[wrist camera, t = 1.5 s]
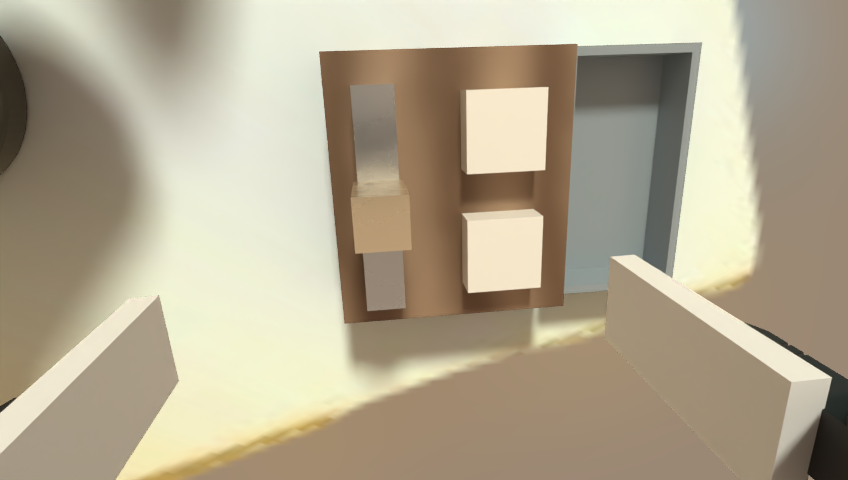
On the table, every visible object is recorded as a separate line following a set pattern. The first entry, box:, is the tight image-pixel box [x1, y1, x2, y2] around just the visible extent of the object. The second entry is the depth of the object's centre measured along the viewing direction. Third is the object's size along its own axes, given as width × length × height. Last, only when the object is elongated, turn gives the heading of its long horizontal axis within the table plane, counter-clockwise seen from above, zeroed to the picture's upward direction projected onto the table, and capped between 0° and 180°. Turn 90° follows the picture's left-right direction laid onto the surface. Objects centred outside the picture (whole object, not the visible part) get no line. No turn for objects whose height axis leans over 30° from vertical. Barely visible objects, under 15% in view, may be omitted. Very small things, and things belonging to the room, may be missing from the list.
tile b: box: [460, 87, 548, 174], centre depth 31 cm, size 5×5×2 cm
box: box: [564, 43, 702, 294], centre depth 38 cm, size 9×18×4 cm, turn 2°
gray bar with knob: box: [350, 84, 412, 311], centre depth 29 cm, size 3×14×7 cm, turn 2°
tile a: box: [462, 209, 543, 293], centre depth 33 cm, size 5×5×2 cm
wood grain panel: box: [319, 44, 577, 323], centre depth 35 cm, size 16×18×6 cm
